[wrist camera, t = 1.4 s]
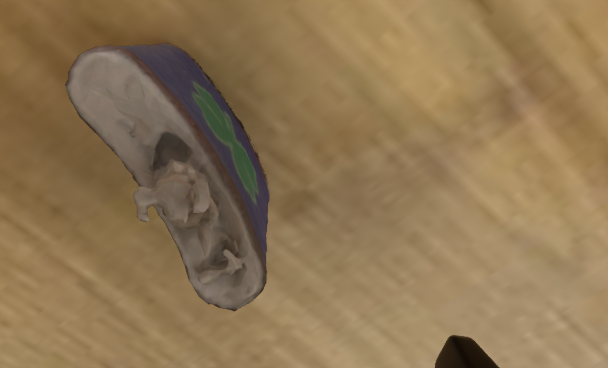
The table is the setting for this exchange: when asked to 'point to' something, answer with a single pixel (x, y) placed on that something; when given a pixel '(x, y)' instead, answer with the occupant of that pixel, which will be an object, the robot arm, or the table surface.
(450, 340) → the robot arm
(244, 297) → the flask
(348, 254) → the table surface
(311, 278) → the table surface
